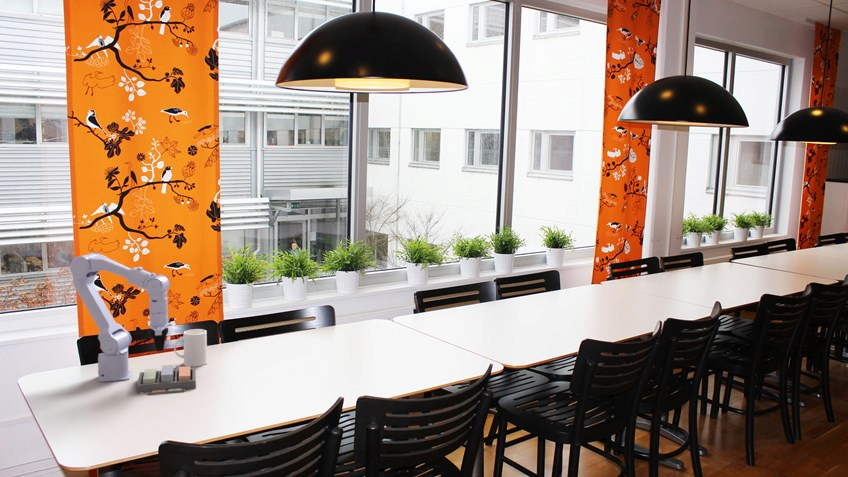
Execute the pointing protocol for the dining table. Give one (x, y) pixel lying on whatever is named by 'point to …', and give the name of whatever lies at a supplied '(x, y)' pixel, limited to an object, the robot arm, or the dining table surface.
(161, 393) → the strip
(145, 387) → the keypad frame
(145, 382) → the key sage
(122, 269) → the robot arm
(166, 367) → the key slate
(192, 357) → the mug
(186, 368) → the key terracotta
